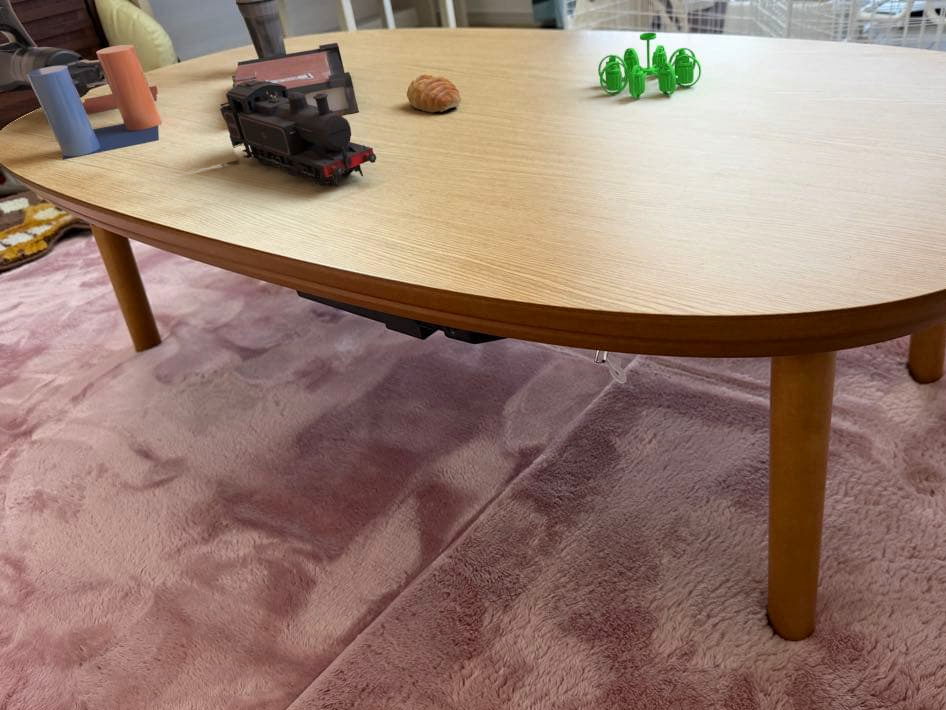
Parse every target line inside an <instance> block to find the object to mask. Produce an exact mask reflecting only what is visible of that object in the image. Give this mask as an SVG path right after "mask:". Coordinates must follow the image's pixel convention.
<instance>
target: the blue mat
mask: <svg viewBox="0 0 946 710" xmlns="http://www.w3.org/2000/svg"><path fill="white" fill-rule="evenodd" d="M93 130H94V132H95V134H96V137H97V139H98V142H99V144H100V149H98V150H97V151H95V152H92V153H90V154H86V155H82V156H77V157H65V156H64V155H63V156H62V161H65V160H70V159H73V158H74V159H75V158H81V157H84V156H91V155H94V154H99V153H104V152H108V151H113V150H118V149H125V148H129V147H134V146H137V145H142V144H147V143H152V142H153V143H154V142H158V141H160V134H159V132H160V131H159V125H158V126H155V127H153V128H149V129H145V130H139V131H129V130H127V129H126V127H125V124H124V122H122V123H118V124H114V125H108V126H105V127H104V126H103V127H99V128H93Z"/></svg>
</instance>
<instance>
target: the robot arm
mask: <svg viewBox="0 0 946 710" xmlns="http://www.w3.org/2000/svg"><path fill="white" fill-rule="evenodd" d="M0 32H1V33H2V34H3V35H4V36H5V37H6V38H7V39H8V41H9V42H6V43H0V92H5V93H13V92H24V91H33V92H34V93H35V91H34V89H33V87H32V85H31V83H30V80H29V78H28V76H27V74H28V73H29V72H31V71H34V70H37V69H41V68H46V67H51V66H66V67H67V68H68V70H69V73H70V75H71V78H72V80H73V82H74V85H75V87H76V89H77V92H78V94H79V97H80V99H81V98H83V97H84V96H86V95H87V94H88V93H89V92H90V90H91V88H94V87H96V86H101V85H109V84H108V82H107V79H106V77H105V74H104V72H103V69H102V67H101V64H100V62H99V59H95V60H88V59H85V57H84V56H82V55H81V54H79V53H78V52H76V51H74V50H71V49H68V48H67V49H66V48H59V47H52V46H51V47H50V46H41V47H38V45H37V44H36V43H35V42H34V40H33V38H31V36H30V35H29V33H28V32H27V31H26V29H25V28H24V26H23V24H22V23H21V21H20V20H19V18H18V17H17V15H16V13H15V11H14V10H13V7H12V4H11V2H10V0H0ZM102 77H103V79H102Z"/></svg>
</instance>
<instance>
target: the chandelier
mask: <svg viewBox="0 0 946 710" xmlns="http://www.w3.org/2000/svg"><path fill="white" fill-rule="evenodd" d="M655 39H657V33H656V32H643V33H641V34H640V35H639V40H641V41H646V67H643V66H642V65H641V64H640V58H639V55H638V52H637V50H635V48H633V47H629V48H625V50H624V53H623V58H622V57H621V56H620V55H617V54H609V55H606V56H605V57H603V58H602V59H601V60H600V62H599V64H598V68H597V71H598V76H599V84H600V87H601V89H602V90H603V91H604V92H605V93H607V94H608V95H618V94H620V93H622V92H623V91H624V90H625V88H626V87H627V86H628V92H629V94H630V95H631V97H632V98H633V99H639V98H640V97H641V95H643V94H645V92H646V77H645V76H654V75H655V77H657V80H658V90H659V91H660V92H662V94H663V95H664V96H666V97H667V96H672V95H674V93H675V91H676V88H677V86H678V87H680V88H684V89H685V88H687V89H688V88H690V87H693V86H695V84H697V83H698V81H699V80H700V78H701V75H702V66H701V63H700V61H699V60H698V59H697V58H696V55H695V53H694V51H692V50H691V49H690V48H687V47H680V48H678V49H675V51H674V52H672V54H671V55H670V57H669V60H668V55H667V51H666V50H665V49H666V48H665V47H664V45H663V44H658V45H656V47H655V51H653V52H652V57H651V54H650V53H651V51H650V47H651V46H650V41H652V40H655ZM686 51H688V52H689V53H690V54H691V55H690V54H689V53H686ZM606 59H608V60H607V61H605V60H606ZM673 59H674V60H673ZM690 59H691V60H690ZM604 61H605V66H604V67H603V68H602V64H603V62H604ZM696 65H697V68H698V76H697V79H696V80H694V78H695V77H694V76H695V68H696ZM621 67H622V68H623V73H624V76H623V73H622V69H621ZM604 75H605V78H604ZM623 82H624V83H623ZM604 84H605V85H606V88H607V89H606V88H605V86H604Z"/></svg>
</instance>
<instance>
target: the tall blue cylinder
mask: <svg viewBox="0 0 946 710" xmlns="http://www.w3.org/2000/svg"><path fill="white" fill-rule="evenodd" d="M27 76H28V78H29V80H30V83H31V85H32V87H33V89H34V91H35V92H34V91H33V92H34V94H35V96H36V98H37V100H38V102H39V103H38V104H39V105H40V107H41V109H42V111H43V114H44V116H45V118H46V120H47V123H48V124H49V127H50V129H51V131H52V133H53V136H54V138H55V140H56V143H57V145H58V146H59V147H58V148H59V149H60V152H61V153H62V155H63V156H65V157H75V158H78V157H77V156H80V157H83V156H82V155H85V156H87V155H86V154H90V153H92V152H95V151H97V150H98V149H100V144H99V142H98V139H97V137H96V134H95V132H94V130H93V129H94V128H93V125H92V123H91V121H90V118H89V114H87V113H86V111H85V108H84V106H83V105H84V103H83V101H82V99H81V98H80V97H79V94H78V92H77V89H76V87H75V85H74V82H73V80H72V78H71V75H70V73H69V70H68V68H67V67H66V66H51V67H46V68H41V69H37V70H34V71H31V72H29V73H28V74H27ZM90 155H91V154H90Z"/></svg>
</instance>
